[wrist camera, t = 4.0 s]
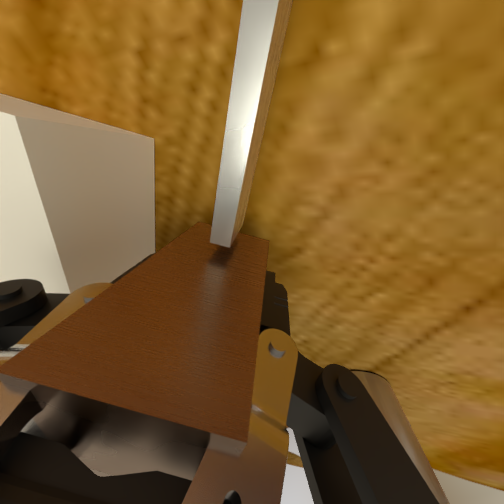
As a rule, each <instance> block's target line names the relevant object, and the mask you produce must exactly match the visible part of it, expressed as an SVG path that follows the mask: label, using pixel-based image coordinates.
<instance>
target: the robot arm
mask: <svg viewBox="0 0 504 504" xmlns="http://www.w3.org/2000/svg"><path fill="white" fill-rule="evenodd" d="M156 253H157V252H156ZM154 254H155V253H153V254H150V255H149V256H147V257H146V258H144V259H143V260H142V261H140V262H139V263H137V264H136V266H133V267H132V268H130V269H129V270H127V271H126V272H124V273H123V274H122V275H120V276H119V277H117V278H116V279H115V280H113V281H112V282H110V283H93V284H89V285H86V286H83V287H81V288H79V289H77V290H75V291H73V292H72V293H71V294H65V293H46V292H45V290H44V287H43V284H42V283H41V282H39V281H37V280H33V279H15V280H9V281H4V282H0V366H1V365H2V364H4V363H5V362H7V361H8V360H9V359H11V358H12V357H13V356H15V355H16V354H18V353H19V352H20V351H22V350H23V349H24V348H26V347H27V346H29V345H30V344H31V343H33V342H34V341H35V340H37V339H38V338H40V337H41V336H42V335H44V334H45V333H46V332H48V331H49V330H51V329H52V328H53V327H55V326H56V325H57V324H59V323H60V322H62V321H63V320H64V319H66V318H67V317H68V316H70V315H71V314H73V313H74V312H75V311H77V310H78V309H79V308H81V307H82V306H84V305H85V304H86V303H88V302H89V301H91V300H92V299H93V298H95V297H96V296H97V295H99V294H100V293H102V292H103V291H104V290H106V289H107V288H108V287H110V286H111V285H113V284H114V283H115V282H117V281H118V280H119V279H121V278H122V277H124V276H125V275H126V274H128V273H129V272H130V271H132V270H133V269H135V268H136V267H137V266H139V265H140V264H141V263H143V262H144V261H146V260H147V259H148V258H150V257H151V256H152V255H154ZM287 300H288V299H287V291H286V290H285V288H284V286H283V285H282V284H278V283H275V273H274V272H270V271H267V270H266V276H265V285H264V294H263V303H262V312H261V322H260V331H259V340H258V349H257V358H256V367H255V377H254V386H253V395H252V404H251V413H250V422H249V432H248V441H247V444H246V446H245V448H244V450H240V449H237V448H233V447H230V446H226V445H223V444H219V443H215V442H212V441H210V443H209V445H208V447H207V450H206V452H205V454H204V456H203V458H202V461H201V463H200V465H199V467H198V469H197V471H196V474H195V476H194V478H193V480H188V479H185V478H181V477H178V476H174V475H171V474H167V473H164V472H160V471H149V472H141V473H132V474H124V475H115V476H107V477H100V476H97V475H96V474H94V473H93V472H92V471H91V470H90V469H89V468H88V467H87V466H86V465H85V464H84V463H83V462H82V461H81V460H80V459H79V458H78V457H77V456H76V455H75V454H74V453H73V452H72V451H71V450H69V449H68V448H67V447H66V446H65V445H64V444H62V443H59V442H55V441H52V440H48V439H47V437H46V436H45V435H44V433H43V432H42V431H41V429H40V428H39V427H38V425H37V424H36V422H35V421H34V420H33V417H34V416H36V415H37V414H38V413H40V412H41V411H43V409H42V408H41V406H40V405H39V403H38V401H37V400H36V398H35V397H34V395H33V394H32V392H31V390H29V389H25V388H21V387H18V386H14V385H11V384H7V383H4V382H1V381H0V504H280V502H281V495H282V489H283V482H284V476H285V469H286V463H287V456H288V447H289V433H288V431H287V430H286V425H287V426H289V427H290V428H291V429H293V432H294V435H295V439H296V442H297V446H298V449H299V453H300V456H301V460H302V463H303V467H304V470H305V474H306V477H307V480H308V484H309V488H310V491H311V494H312V498H313V501H314V504H449V502H448V499H447V497H446V495H445V493H444V491H443V489H442V487H441V485H440V483H439V481H438V479H437V478H436V476H435V473H434V472H433V469H432V467H431V466H430V464H429V462H428V460H427V458H426V456H425V454H424V452H423V450H422V448H421V446H420V444H419V442H418V440H417V438H416V436H415V434H414V432H413V430H412V428H411V425H410V423H409V421H408V419H407V417H406V415H405V413H404V411H403V409H402V408H401V406H400V404H399V402H398V400H397V398H396V396H395V394H394V392H393V390H392V388H391V386H390V384H389V383H388V381H386V380H385V379H384V378H382V377H380V376H378V375H376V374H373V373H368V372H363V371H350V370H348V369H347V368H345V367H343V366H341V365H337V364H330V365H328V366H326V367H325V368H324V369H323V368H321V367H320V366H318V365H316V364H315V363H313V362H311V361H310V360H308V359H307V358H305V357H304V356H303V355H302V354H300V353H299V351H298V349H297V346H296V344H295V342H294V341H293V339H292V338H291V337H290V326H289V312H288V302H287Z"/></svg>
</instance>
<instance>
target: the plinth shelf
mask: <svg viewBox="0 0 504 504" xmlns="http://www.w3.org/2000/svg"><path fill="white" fill-rule="evenodd" d="M153 253H155V176H154V138H151V137H148V136H144V135H141V134H137V133H134V132H130V131H127V130H124V129H120V128H117V127H113V126H110V125H107V124H103V123H100V122H96V121H93V120H90V119H86V118H83V117H79V116H76V115H72V114H69V113H66V112H62V111H59V110H55V109H52V108H49V107H45V106H42V105H38V104H35V103H31V102H28V101H25V100H21V99H18V98H14V97H11V96H8V95H4V94H1V93H0V282H4V281H9V280H15V279H33V280H37V281H39V282H41V283H42V284H43V287H44V290H45V292H46V293H65V294H71V293H72V292H73V291H75V290H77V289H79V288H81V287H83V286H86V285H89V284H93V283H110V282H112V281H113V280H115V279H116V278H117V277H119V276H120V275H122V274H123V273H124V272H126V271H127V270H129V269H130V268H132V267H133V266H136V264H137V263H139V262H140V261H142V260H143V259H144V258H146V257H147V256H149V255H150V254H153Z"/></svg>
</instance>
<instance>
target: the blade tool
mask: <svg viewBox="0 0 504 504" xmlns="http://www.w3.org/2000/svg"><path fill="white" fill-rule="evenodd" d="M292 2H293V0H243V7H242V14H241V21H240V28H239V35H238V43H237V50H236V57H235V64H234V71H233V79H232V86H231V93H230V100H229V107H228V115H227V122H226V129H225V136H224V143H223V151H222V158H221V165H220V172H219V179H218V186H217V194H216V201H215V208H214V215H213V222H212V225H209V224H206V223H202V222H198V223H197V224H195V225H194V226H192V227H191V228H190V229H188V230H187V231H186V232H184V233H183V234H181V235H180V236H179V237H177V238H176V239H175V240H173V241H172V242H170V243H169V244H168V245H166V246H165V247H163V248H162V249H161V250H159V251H158V252H157V253H155V254H154V255H152V256H151V257H150V258H148V259H147V260H146V261H144V262H143V263H141V264H140V265H139V266H137V267H136V268H135V269H133V270H132V271H130V272H129V273H128V274H126V275H125V276H124V277H122V278H121V279H119V280H118V281H117V282H115V283H114V284H113V285H111V286H110V287H108V288H107V289H106V290H104V291H103V292H102V293H100V294H99V295H97V296H96V297H95V298H93V299H92V300H91V301H89V302H88V303H86V304H85V305H84V306H82V307H81V308H79V309H78V310H77V311H75V312H74V313H73V314H71V315H70V316H68V317H67V318H66V319H64V320H63V321H62V322H60V323H59V324H57V325H56V326H55V327H53V328H52V329H51V330H49V331H48V332H46V333H45V334H44V335H42V336H41V337H40V338H38V339H37V340H35V341H34V342H33V343H31V344H30V345H29V346H27V347H26V348H24V349H23V350H22V351H20V352H19V353H18V354H16V355H15V356H13V357H12V358H11V359H9V360H8V361H7V362H5V363H4V364H2V365H1V366H0V381H1V382H4V383H7V384H11V385H14V386H18V387H21V388H25V389H29V390H31V392H32V394H33V395H34V397H35V398H36V400H37V401H38V403H39V405H40V406H41V408H42V409H43V411H41V412H40V413H38V414H37V415H36V416H34V417H33V420H34V421H35V422H36V424H37V425H38V427H39V428H40V429H41V431H42V432H43V433H44V435H45V436H46V437H47V439H48V440H52V441H55V442H59V443H62V444H64V445H65V446H66V447H67V448H68V449H69V450H71V451H72V452H73V453H74V454H75V455H76V456H77V457H78V458H79V459H80V460H81V461H82V462H83V463H84V464H85V465H86V466H87V467H88V468H90V469H93V470H97V471H100V472H104V473H107V474H111V475H114V476H115V475H124V474H132V473H141V472H149V471H160V472H164V473H167V474H171V475H174V476H178V477H181V478H185V479H188V480H193V478H194V476H195V474H196V471H197V469H198V467H199V465H200V463H201V461H202V458H203V456H204V454H205V452H206V450H207V447H208V445H209V443H210V441H212V442H215V443H219V444H223V445H226V446H230V447H233V448H237V449H240V450H244V448H245V446H246V444H247V441H248V432H249V422H250V413H251V404H252V395H253V386H254V377H255V367H256V358H257V349H258V340H259V331H260V322H261V312H262V303H263V294H264V285H265V276H266V267H267V257H268V248H269V241H268V240H265V239H261V238H257V237H254V236H250V235H246V234H242V233H239V231H240V229H241V227H242V226H243V222H244V218H245V213H246V209H247V204H248V200H249V195H250V191H251V186H252V182H253V177H254V173H255V168H256V164H257V159H258V155H259V150H260V146H261V142H262V137H263V133H264V128H265V124H266V119H267V115H268V110H269V106H270V101H271V97H272V92H273V88H274V83H275V79H276V74H277V70H278V65H279V61H280V56H281V52H282V47H283V43H284V38H285V34H286V29H287V25H288V20H289V16H290V11H291V7H292Z"/></svg>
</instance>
